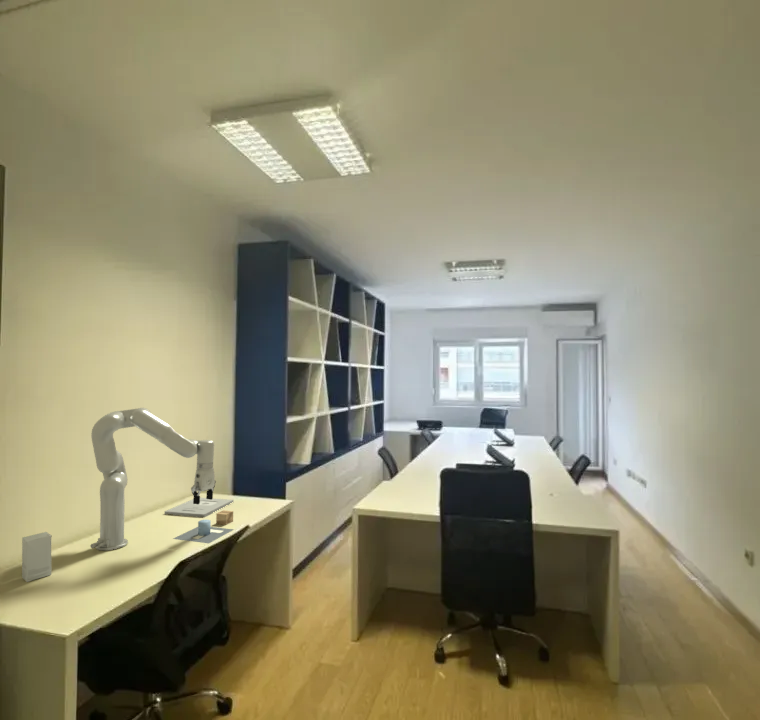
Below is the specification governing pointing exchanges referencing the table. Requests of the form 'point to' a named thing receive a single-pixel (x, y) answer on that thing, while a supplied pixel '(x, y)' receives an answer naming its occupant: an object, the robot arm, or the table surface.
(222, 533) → the letter mat
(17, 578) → the table surface
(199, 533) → the blue canister
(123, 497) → the robot arm
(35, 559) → the skincare box
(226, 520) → the oak block
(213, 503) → the award plaque
